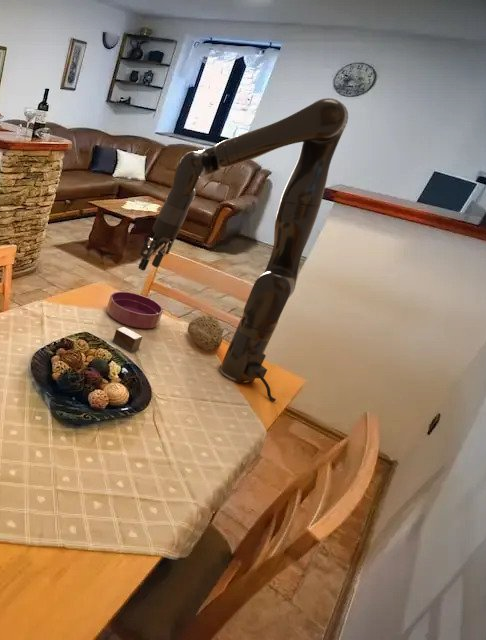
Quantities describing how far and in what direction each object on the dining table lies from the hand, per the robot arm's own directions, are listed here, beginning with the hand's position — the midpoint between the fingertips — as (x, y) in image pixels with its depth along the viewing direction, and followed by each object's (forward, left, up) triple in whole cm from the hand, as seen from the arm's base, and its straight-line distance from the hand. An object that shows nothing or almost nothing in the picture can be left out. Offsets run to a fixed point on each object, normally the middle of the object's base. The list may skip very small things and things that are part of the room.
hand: (148, 267), depth 157 cm
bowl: (+7, -5, -21) cm, 23 cm away
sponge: (-10, -23, -21) cm, 33 cm away
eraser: (-12, +9, -21) cm, 26 cm away
